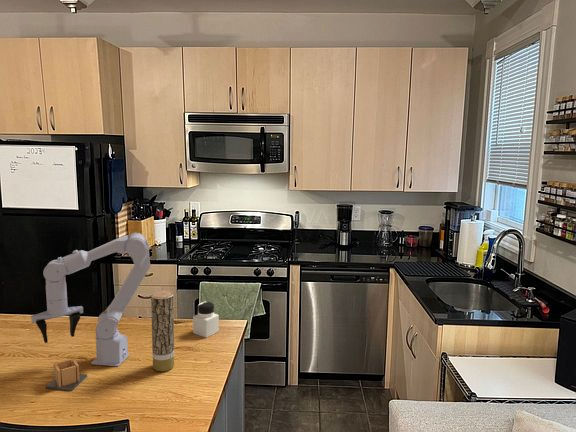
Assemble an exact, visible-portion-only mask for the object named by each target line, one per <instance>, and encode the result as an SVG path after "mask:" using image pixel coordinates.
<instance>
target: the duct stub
mask: <svg viewBox="0 0 576 432" xmlns="http://www.w3.org/2000/svg"><path fill="white" fill-rule="evenodd" d="M65 368H68V367H65ZM65 368H62V369H65ZM79 378H80V381H78V382H77V380H76V382H75V383H71V384H68V385H65V386H62V378H61V387H59V386H58V384H57V383H56V381H55V378H54V379H52V380H51V381H50V382H49V383H48V384H47V385H45V389H47V390H58V391H66V392H67V391H74V390H75V389H76V388H77V387H78V386H79V385H80V384H81V383H82V382H83V381H84V380H85V379H87V378H88V373H79Z"/></svg>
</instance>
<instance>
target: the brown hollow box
mask: <svg viewBox="0 0 576 432" xmlns="http://www.w3.org/2000/svg"><path fill="white" fill-rule="evenodd" d="M65 367H68V368H65ZM62 368H65V369H62ZM53 373H54V375H53V376H54V377H53V378H54V379H55V381H56V383H57V384H58V386H59V387H61V378H62V386H65V385H68V384H71V383H75V382H76V380H77V382H78V381H80V378H79V374H80V365H79V364H78V362H77V361H76V359H75V358H71V359H67V360H63V361H59V362H56V363H53Z"/></svg>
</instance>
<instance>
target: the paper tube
mask: <svg viewBox="0 0 576 432" xmlns="http://www.w3.org/2000/svg"><path fill="white" fill-rule="evenodd" d="M150 295H151V296H150V298H151V299H150V305H151V341H152V342H151V344H152V345H151V346H152V347H151V348H152V351H151V352H152V368H153V370H154V371H156V372H167V371H170V370H172V369H173V368H174V366H175V318H174V317H175V316H174V314H175V313H174V312H175V310H174V308H175V307H174V299H175V298H174V292H173V291H171V290H164V289H163V290H157V291H153V292H152V293H151V294H150Z"/></svg>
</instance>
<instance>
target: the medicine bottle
mask: <svg viewBox="0 0 576 432" xmlns="http://www.w3.org/2000/svg"><path fill="white" fill-rule="evenodd" d="M214 311H215V304H214V303H213V302H210V301H202V302H200V303H199V304H198V305H197V314H195V315H193V316H192V333H193V335H194V334H195V335H197V336H199V337H203V338H209V337H211V336H212V335H214V334H217V333H218V332H219V331H220V329H219V327H220V325H219V324H220V320H219V317H220V316H219V314H217V313H215V312H214Z"/></svg>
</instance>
